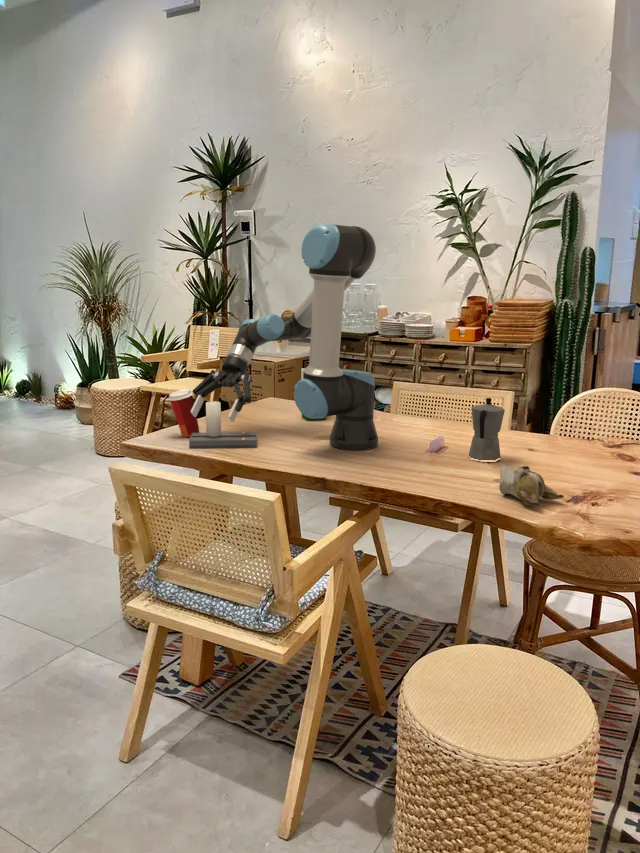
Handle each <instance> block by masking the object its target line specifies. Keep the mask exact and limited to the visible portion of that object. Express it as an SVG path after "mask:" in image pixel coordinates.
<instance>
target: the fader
mask: <svg viewBox="0 0 640 853" xmlns="http://www.w3.org/2000/svg"><path fill="white" fill-rule="evenodd" d="M221 407H222V406H221V402H220V401H214V400H213V401H211V400H210V401H207V402H205V418H206V419H205V420H206V421H205V422H206V423H205V424H206V429H205V430H206V432H205V433H207V436H211V437H216V436H220V435H221V432H222V418H221V417H222V409H221Z"/></svg>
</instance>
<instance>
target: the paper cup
mask: <svg viewBox="0 0 640 853" xmlns="http://www.w3.org/2000/svg"><path fill="white" fill-rule="evenodd" d="M193 395H194V393H193V392H192V390H191V389H189V388H186V389H180V390H176V391H173V392H171V393H170V394H169V395H168V399H167V400H169V402H170V404H171V407H172V410H173V413H174V415H175V419H176V422H177V424H178V427H179V431H180V433H181V436H182V437H183V438H190V437H191V434H192V433H200V427H199V422H198V417H197V416H198V415H197V416H196V417H194V416H193V415H192V413H191V410H192V407H193V405H194V404H193V402H194V397H193Z"/></svg>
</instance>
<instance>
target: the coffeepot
mask: <svg viewBox="0 0 640 853" xmlns="http://www.w3.org/2000/svg"><path fill="white" fill-rule="evenodd" d="M485 402H486V403H484V404H479V405H473V406H471V415H472V416H471V417H472V419H471V420H472V429H473V431H474V434H473V436H472V439H471V444H470V448H469V452H468V455H469V456H470V457H471V458H474V459H478V460H496V459H498V458H501V450H500V440H499V433H500V432H501V428H502V424H503V419H504V416H505V410H506V409H504V408H503V407H502V406H497V405H494V404H492V398H491V397H487V398H485ZM469 456H468V457H469Z"/></svg>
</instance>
